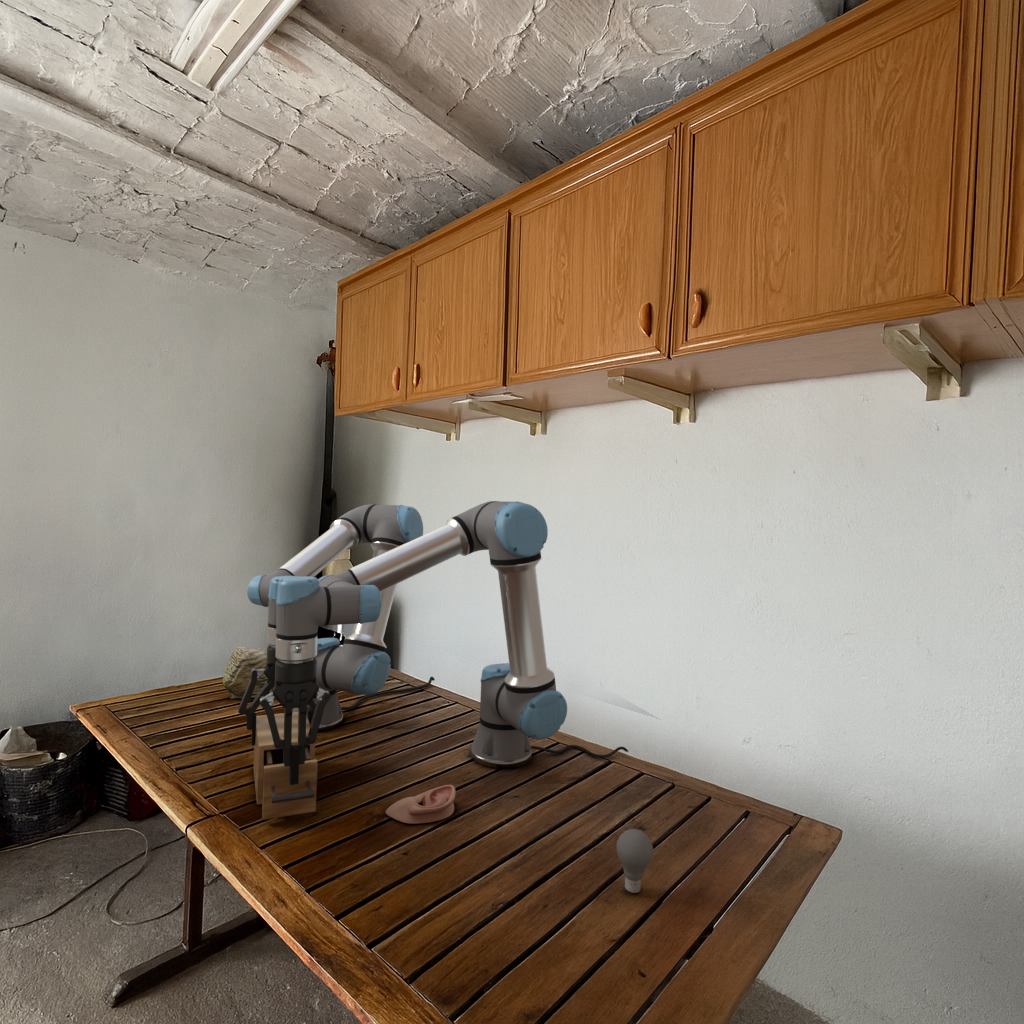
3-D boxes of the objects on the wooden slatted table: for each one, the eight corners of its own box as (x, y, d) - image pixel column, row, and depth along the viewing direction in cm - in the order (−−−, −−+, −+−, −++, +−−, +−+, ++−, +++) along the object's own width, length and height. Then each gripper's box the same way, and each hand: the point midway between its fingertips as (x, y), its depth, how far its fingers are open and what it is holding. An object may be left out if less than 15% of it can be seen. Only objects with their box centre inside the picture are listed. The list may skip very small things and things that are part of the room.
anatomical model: (379, 799, 125) (401, 775, 136) (379, 819, 125) (400, 793, 136) (444, 809, 122) (460, 783, 134) (443, 829, 122) (460, 802, 134)
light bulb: (610, 879, 108) (613, 822, 108) (644, 879, 109) (647, 822, 109) (619, 902, 102) (622, 840, 102) (655, 901, 103) (658, 840, 103)
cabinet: (313, 796, 134) (315, 739, 133) (256, 804, 129) (258, 746, 129) (303, 761, 151) (305, 711, 151) (253, 767, 146) (255, 715, 146)
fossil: (218, 695, 195) (220, 647, 195) (278, 685, 208) (279, 640, 207) (228, 703, 189) (230, 653, 188) (289, 692, 201) (290, 645, 201)
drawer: (319, 825, 120) (321, 773, 120) (263, 835, 116) (265, 781, 116) (305, 775, 141) (307, 730, 141) (258, 781, 137) (259, 735, 137)
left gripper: (228, 651, 136) (224, 752, 136) (340, 645, 146) (336, 740, 146) (228, 643, 143) (224, 740, 143) (335, 638, 152) (331, 728, 153)
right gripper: (260, 666, 114) (257, 795, 115) (334, 660, 119) (331, 784, 120) (258, 656, 121) (256, 778, 121) (328, 651, 126) (326, 768, 127)
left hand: (281, 740), depth 144 cm, fingers closed on cabinet, 11 cm apart
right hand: (293, 781), depth 121 cm, fingers closed
